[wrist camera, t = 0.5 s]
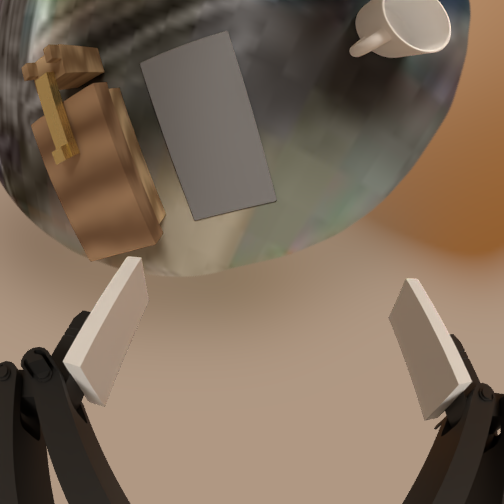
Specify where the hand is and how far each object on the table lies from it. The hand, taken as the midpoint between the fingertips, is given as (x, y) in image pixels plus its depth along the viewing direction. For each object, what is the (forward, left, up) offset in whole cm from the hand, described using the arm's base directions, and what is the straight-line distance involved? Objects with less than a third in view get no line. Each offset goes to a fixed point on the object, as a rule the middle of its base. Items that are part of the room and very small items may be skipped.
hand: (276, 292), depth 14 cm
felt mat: (-6, -7, -27) cm, 28 cm away
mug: (-14, +17, -27) cm, 35 cm away
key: (-15, -21, -18) cm, 31 cm away
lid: (-6, -21, -21) cm, 30 cm away
